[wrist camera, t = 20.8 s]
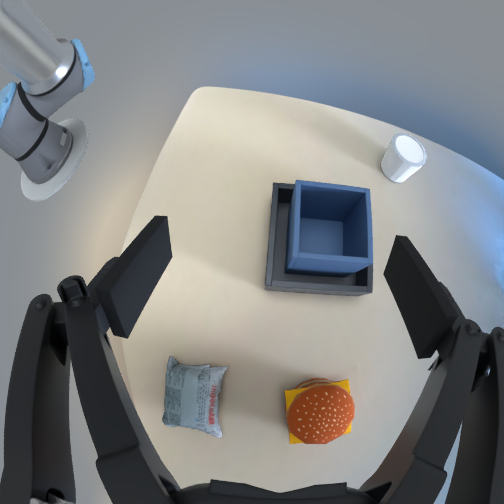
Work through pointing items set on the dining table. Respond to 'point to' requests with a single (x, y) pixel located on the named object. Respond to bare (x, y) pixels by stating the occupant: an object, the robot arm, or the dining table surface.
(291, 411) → the hamburger
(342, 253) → the blue bin
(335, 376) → the dining table surface
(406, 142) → the white cup
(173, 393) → the packaged food
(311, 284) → the charcoal bin
